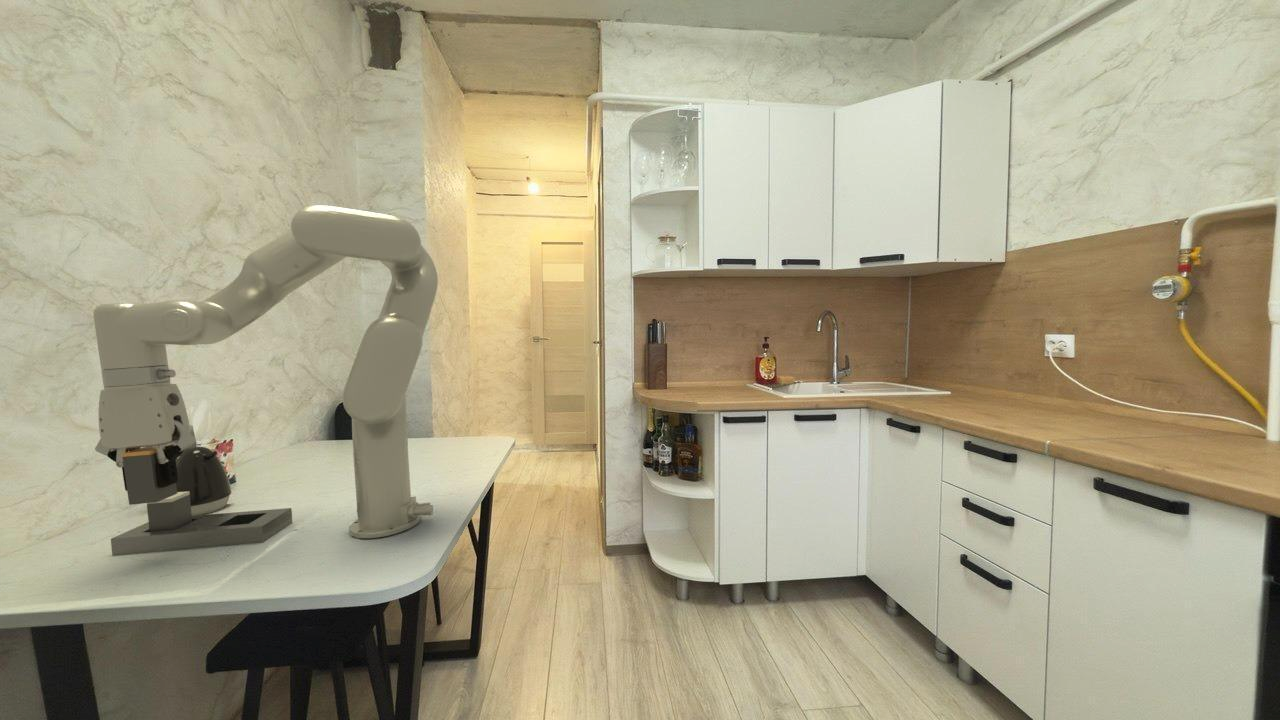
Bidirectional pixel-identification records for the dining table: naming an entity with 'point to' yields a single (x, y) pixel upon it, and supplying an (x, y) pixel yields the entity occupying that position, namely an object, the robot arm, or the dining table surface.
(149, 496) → the plug
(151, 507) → the twin plug
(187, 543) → the grey slotted tray
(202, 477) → the dark grey dome
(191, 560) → the dining table surface
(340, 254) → the robot arm
